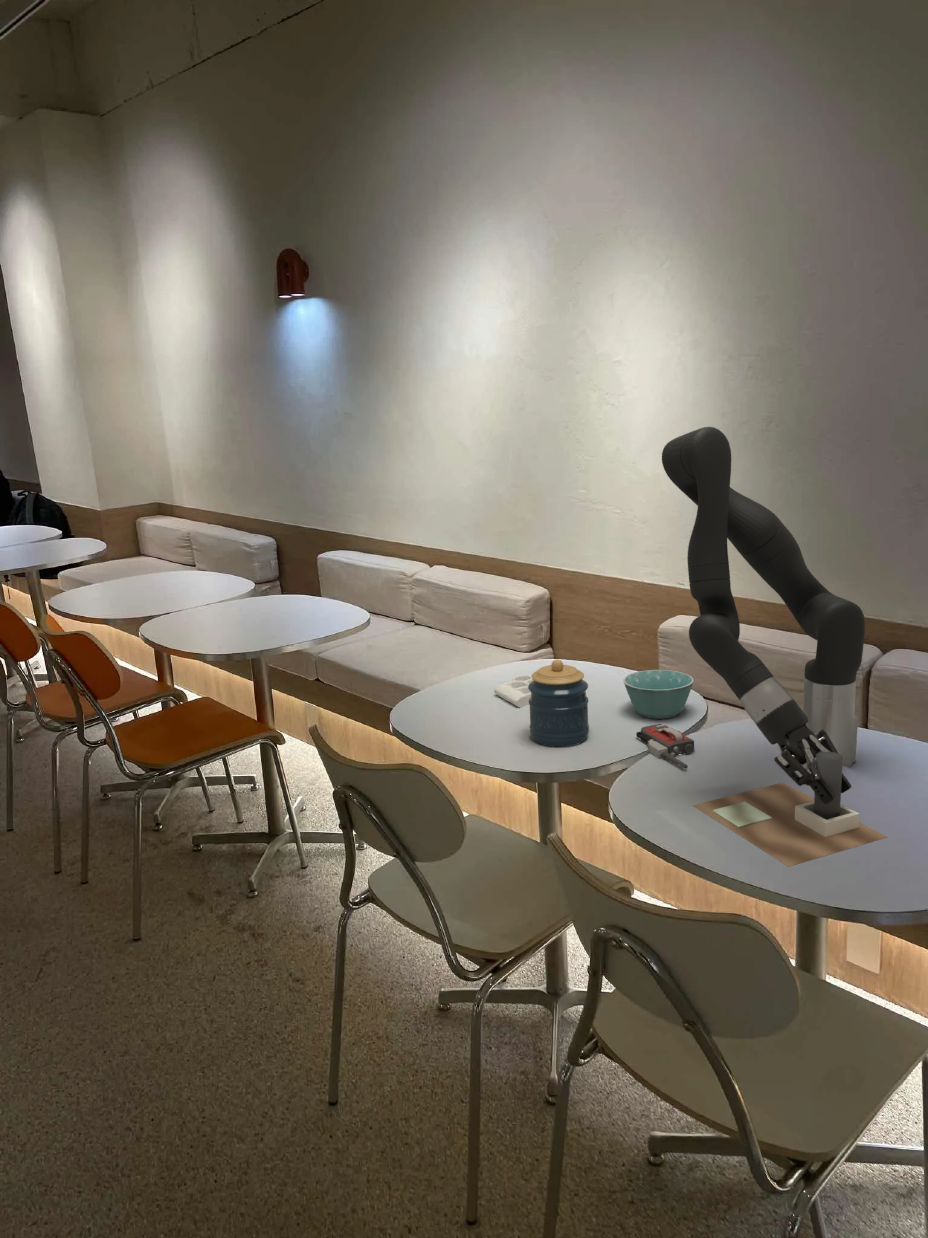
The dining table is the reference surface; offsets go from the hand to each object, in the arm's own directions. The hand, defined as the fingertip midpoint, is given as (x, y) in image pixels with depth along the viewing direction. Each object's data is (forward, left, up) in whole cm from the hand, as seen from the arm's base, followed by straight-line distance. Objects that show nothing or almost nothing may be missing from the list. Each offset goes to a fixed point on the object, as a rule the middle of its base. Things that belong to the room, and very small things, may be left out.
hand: (838, 795), depth 147 cm
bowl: (-8, -64, -7) cm, 65 cm away
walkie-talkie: (+3, -43, -8) cm, 44 cm away
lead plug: (+1, -2, -6) cm, 6 cm away
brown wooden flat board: (+6, -6, -7) cm, 11 cm away
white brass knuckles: (+12, -89, -8) cm, 91 cm away
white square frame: (+1, -2, -6) cm, 6 cm away
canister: (+19, -62, -7) cm, 65 cm away
